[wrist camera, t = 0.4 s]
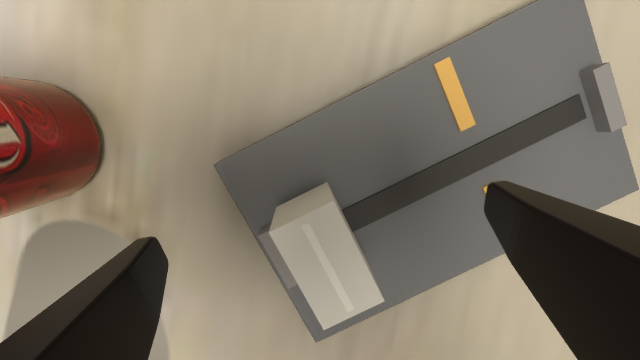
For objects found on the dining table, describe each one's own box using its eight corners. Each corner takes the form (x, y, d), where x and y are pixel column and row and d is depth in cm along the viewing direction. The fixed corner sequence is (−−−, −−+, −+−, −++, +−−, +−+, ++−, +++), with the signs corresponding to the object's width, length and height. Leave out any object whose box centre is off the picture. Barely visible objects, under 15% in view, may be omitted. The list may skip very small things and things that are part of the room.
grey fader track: (617, 184, 23) (655, 192, 21) (315, 328, 24) (316, 352, 22) (558, -11, 20) (592, -28, 18) (219, 161, 21) (208, 167, 19)
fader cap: (367, 262, 21) (385, 302, 17) (319, 285, 21) (323, 331, 17) (327, 181, 20) (334, 201, 15) (276, 207, 20) (268, 233, 16)
